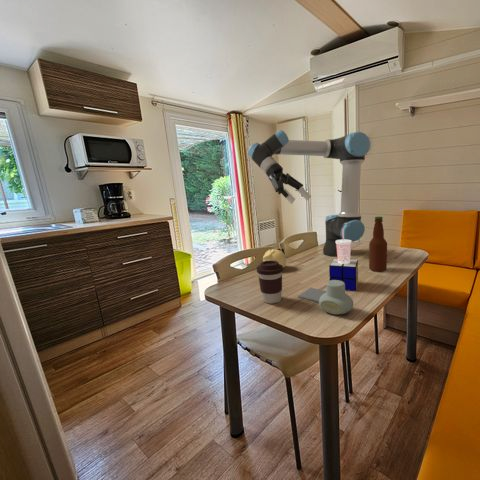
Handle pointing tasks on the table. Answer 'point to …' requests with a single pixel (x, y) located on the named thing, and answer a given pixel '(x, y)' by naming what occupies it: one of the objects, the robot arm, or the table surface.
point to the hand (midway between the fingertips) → (301, 199)
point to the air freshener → (336, 298)
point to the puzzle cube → (345, 273)
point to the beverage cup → (343, 250)
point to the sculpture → (275, 256)
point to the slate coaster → (312, 294)
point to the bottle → (378, 248)
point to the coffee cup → (270, 281)
